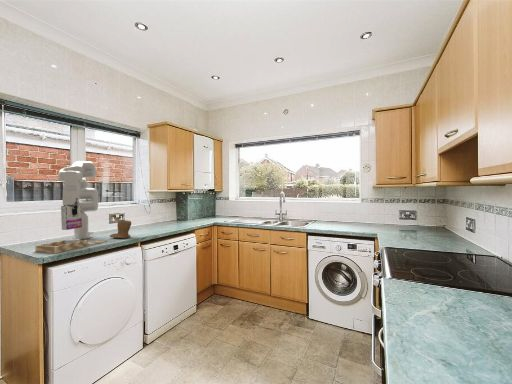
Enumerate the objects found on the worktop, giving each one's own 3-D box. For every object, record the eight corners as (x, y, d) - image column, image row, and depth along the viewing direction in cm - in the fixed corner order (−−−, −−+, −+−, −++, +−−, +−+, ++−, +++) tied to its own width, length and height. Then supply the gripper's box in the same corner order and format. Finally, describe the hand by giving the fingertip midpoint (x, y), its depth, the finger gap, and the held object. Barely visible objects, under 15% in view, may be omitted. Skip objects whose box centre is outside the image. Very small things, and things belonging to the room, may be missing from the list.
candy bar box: (76, 227, 176) (76, 204, 176) (82, 227, 175) (81, 204, 175) (60, 229, 165) (60, 205, 165) (66, 230, 164) (66, 205, 164)
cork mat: (100, 241, 190) (100, 240, 190) (107, 241, 188) (107, 240, 188) (83, 244, 176) (83, 244, 176) (91, 245, 175) (91, 244, 175)
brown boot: (134, 236, 206) (134, 219, 206) (122, 239, 195) (122, 221, 195) (121, 236, 211) (121, 218, 211) (108, 238, 200) (108, 220, 200)
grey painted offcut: (67, 243, 173) (67, 239, 173) (80, 242, 175) (80, 239, 175) (65, 244, 170) (65, 240, 170) (78, 243, 172) (78, 239, 172)
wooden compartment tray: (69, 244, 178) (68, 239, 178) (87, 245, 174) (87, 239, 174) (35, 251, 157) (35, 245, 157) (55, 253, 153) (55, 246, 153)
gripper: (56, 188, 168) (56, 214, 169) (75, 188, 164) (75, 215, 164) (67, 188, 176) (67, 213, 176) (85, 188, 171) (86, 214, 171)
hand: (71, 214), depth 170 cm, fingers closed on candy bar box, 5 cm apart
